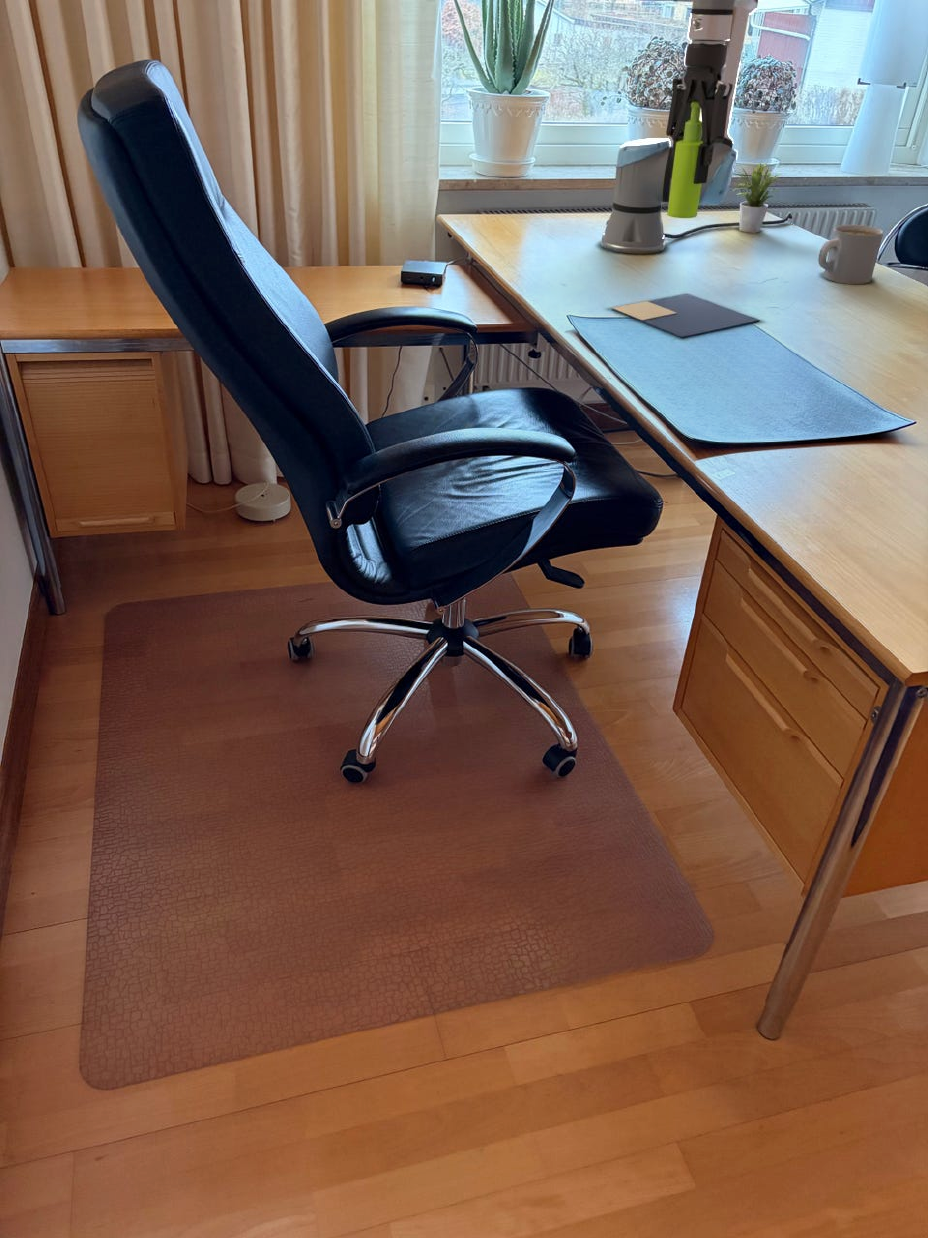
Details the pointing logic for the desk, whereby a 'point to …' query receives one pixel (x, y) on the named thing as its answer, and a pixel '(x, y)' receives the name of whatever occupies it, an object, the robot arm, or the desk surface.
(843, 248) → the coffee mug
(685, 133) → the soap dispenser
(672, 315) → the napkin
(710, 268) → the desk surface
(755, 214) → the house plant
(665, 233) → the robot arm
